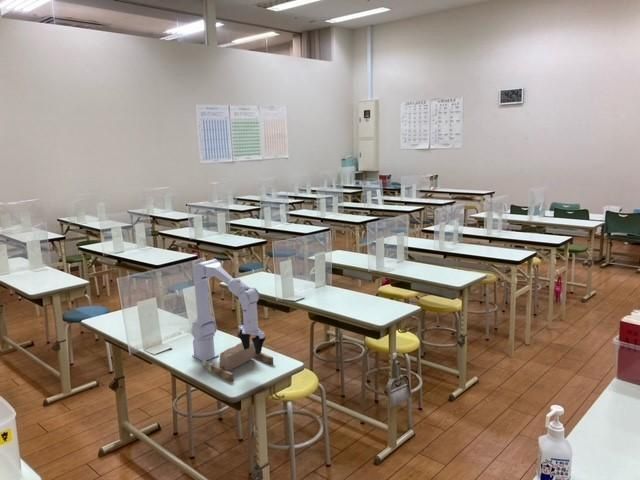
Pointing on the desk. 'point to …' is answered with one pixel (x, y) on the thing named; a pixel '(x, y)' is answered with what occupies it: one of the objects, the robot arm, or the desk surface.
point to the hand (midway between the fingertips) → (252, 351)
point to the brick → (236, 356)
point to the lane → (229, 375)
